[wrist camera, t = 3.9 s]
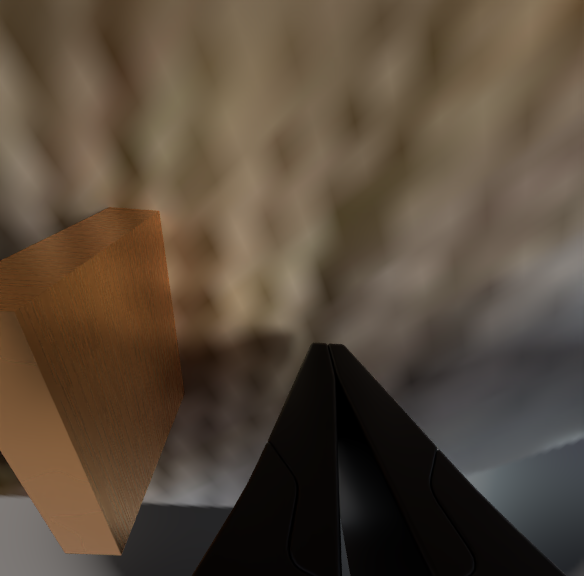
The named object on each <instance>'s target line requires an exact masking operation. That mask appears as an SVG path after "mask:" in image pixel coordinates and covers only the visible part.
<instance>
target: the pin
mask: <svg viewBox="0 0 584 576" xmlns="http://www.w3.org/2000/svg"><path fill="white" fill-rule="evenodd" d="M183 396H184V386H183V379H182V372H181V365H180V358H179V350H178V343H177V336H176V329H175V322H174V314H173V307H172V300H171V293H170V286H169V278H168V271H167V264H166V257H165V250H164V242H163V235H162V228H161V221H160V214H159V211H153V210H139V209H125V208H111V207H109V208H107V209H105V210H103V211H101V212H99V213H97V214H95V215H93V216H91V217H89V218H87V219H85V220H83V221H81V222H79V223H77V224H74V225H72V226H70V227H68V228H66V229H64V230H62V231H60V232H58V233H56V234H54V235H52V236H50V237H48V238H46V239H44V240H42V241H40V242H38V243H36V244H34V245H32V246H29V247H27V248H25V249H23V250H21V251H19V252H17V253H15V254H13V255H11V256H9V257H7V258H5V259H3V260H1V261H0V451H1V453H2V454H3V456H4V457H5V459H6V461H7V462H8V464H9V465H10V467H11V468H12V470H13V472H14V473H15V475H16V476H17V478H18V479H19V481H20V483H21V484H22V486H23V487H24V489H25V491H26V492H27V494H28V495H29V497H30V498H31V500H32V502H33V503H34V505H35V506H36V508H37V509H38V511H39V513H40V514H41V516H42V517H43V519H44V520H45V522H46V524H47V525H48V527H49V528H50V530H51V531H52V533H53V535H54V536H55V538H56V539H57V541H58V543H59V544H60V546H61V547H62V549H63V550H64V552H65V553H70V554H99V555H121V554H122V552H123V549H124V547H125V544H126V542H127V539H128V537H129V534H130V531H131V529H132V526H133V524H134V521H135V519H136V516H137V514H138V511H139V508H140V506H141V503H142V501H143V498H144V496H145V493H146V491H147V488H148V486H149V483H150V481H151V478H152V475H153V473H154V470H155V468H156V465H157V463H158V460H159V458H160V455H161V452H162V450H163V447H164V445H165V442H166V440H167V437H168V435H169V432H170V429H171V427H172V424H173V422H174V419H175V417H176V414H177V412H178V409H179V406H180V404H181V401H182V399H183Z"/></svg>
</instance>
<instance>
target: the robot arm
mask: <svg viewBox="0 0 584 576" xmlns="http://www.w3.org/2000/svg"><path fill="white" fill-rule="evenodd" d="M340 518H341V524H342V530H343V535H344V542H345V548H346V553H347V560H348V566H349V572H350V576H566V575H565V574H564V573H563V572H562V571H561V570H559V569H558V567H556V566H555V565H554V564H553V563H552V562H551V561H550V560H549V559H548V558H547V557H546V556H545V555H544V554H543V553H542V552H541V551H540V550H539V549H537V547H536V546H534V545H533V544H532V543H531V542H530V541H529V540H528V539H527V538H526V537H525V536H524V535H523V534H522V533H521V532H520V531H519V530H518V529H516V528H515V527H514V526H513V525H512V524H511V523H510V522H509V521H508V520H507V519H506V518H505V517H504V516H503V515H502V514H501V513H500V512H499V511H498V510H497V509H496V508H495V507H494V506H493V505H492V504H491V503H490V502H489V501H488V500H487V499H486V498H485V497H484V496H482V494H481V493H480V492H479V491H477V490H476V489H475V487H474V486H473V485H472V484H471V483H470V482H469V481H468V480H467V479H466V478H465V477H464V476H463V475H462V474H461V473H460V471H459V470H458V469H457V468H456V467H455V466H454V465H453V464H452V463H451V462H450V461H449V460H448V459H447V457H446V456H445V455H444V454H443V453H442V452H441V451H440V450H437V447H436V446H435V444H434V443H433V442H432V441H431V440H430V439H429V438H428V437H427V436H426V435H425V433H424V432H423V431H422V430H421V429H420V428H419V427H418V426H417V425H416V424H415V422H414V421H413V420H412V419H411V418H410V417H409V416H408V415H407V414H406V413H405V411H404V410H403V409H402V408H401V407H400V406H399V405H398V404H397V403H396V402H395V401H394V399H393V398H392V397H391V396H390V395H389V394H388V393H387V392H386V391H385V390H384V388H383V387H382V386H381V385H380V384H379V383H378V382H377V381H376V380H375V379H374V377H373V376H372V375H371V374H370V373H369V372H368V371H367V370H366V369H365V368H364V366H363V365H362V364H361V363H360V362H359V361H358V360H357V359H356V358H355V357H354V355H353V354H352V353H351V352H350V351H349V350H348V349H347V348H346V347H345V346H344V345H342V344H329V345H327V344H325V343H312V344H311V346H310V348H309V350H308V352H307V355H306V357H305V359H304V361H303V364H302V366H301V368H300V370H299V372H298V375H297V377H296V379H295V381H294V384H293V386H292V388H291V390H290V393H289V395H288V397H287V399H286V401H285V404H284V406H283V408H282V410H281V413H280V415H279V417H278V419H277V421H276V424H275V426H274V428H273V430H272V433H271V435H270V437H269V439H268V443H267V444H266V445H265V448H264V450H263V452H262V454H261V457H260V459H259V461H258V463H257V465H256V467H255V469H254V471H253V473H252V475H251V477H250V479H249V481H248V483H247V485H246V487H245V488H244V490H243V492H242V494H241V495H240V497H239V499H238V501H237V502H236V504H235V506H234V508H233V510H232V511H231V513H230V514H229V516H228V518H227V519H226V521H225V523H224V524H223V526H222V528H221V529H220V531H219V533H218V534H217V536H216V537H215V539H214V541H213V542H212V544H211V546H210V547H209V549H208V551H207V552H206V554H205V555H204V557H203V558H202V560H201V562H200V563H199V565H198V567H197V568H196V570H195V571H194V573H193V575H192V576H342V566H341V565H342V564H341V535H340V534H341V531H340Z"/></svg>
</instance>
